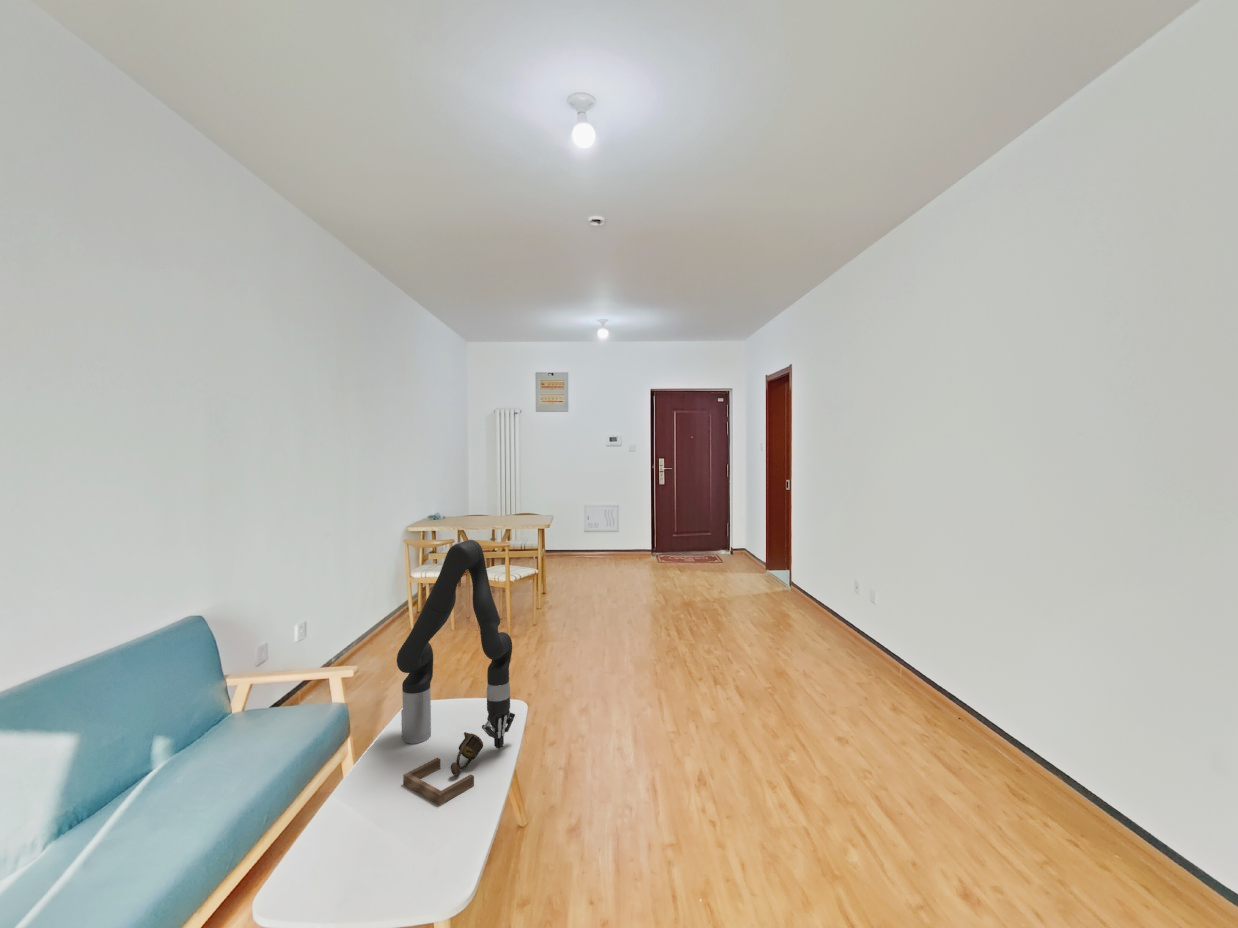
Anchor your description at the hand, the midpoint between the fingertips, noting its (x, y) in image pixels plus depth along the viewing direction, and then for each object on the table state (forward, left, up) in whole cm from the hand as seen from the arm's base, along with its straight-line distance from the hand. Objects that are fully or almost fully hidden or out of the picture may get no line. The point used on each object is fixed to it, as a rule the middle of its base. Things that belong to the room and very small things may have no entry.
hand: (498, 747), depth 192 cm
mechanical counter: (0, -13, -2) cm, 13 cm away
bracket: (0, -22, -2) cm, 22 cm away
